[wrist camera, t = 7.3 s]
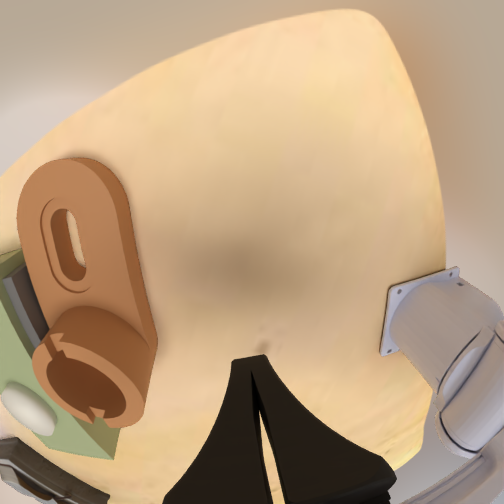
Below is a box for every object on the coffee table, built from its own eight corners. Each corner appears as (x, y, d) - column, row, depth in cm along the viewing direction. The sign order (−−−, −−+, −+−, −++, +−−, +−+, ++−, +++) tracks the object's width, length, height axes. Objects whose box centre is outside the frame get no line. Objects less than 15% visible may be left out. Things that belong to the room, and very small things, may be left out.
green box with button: (34, 244, 16) (-16, 279, 10) (129, 426, 24) (121, 472, 18) (-30, 265, 15) (-69, 294, 9) (59, 420, 23) (45, 457, 17)
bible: (30, 437, 25) (15, 477, 16) (121, 499, 35) (118, 532, 26) (-15, 429, 25) (-28, 458, 16) (60, 489, 35) (55, 515, 26)
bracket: (168, 367, 22) (159, 430, 15) (87, 366, 21) (65, 420, 14) (124, 147, 15) (75, 144, 9) (30, 171, 15) (-31, 185, 8)
